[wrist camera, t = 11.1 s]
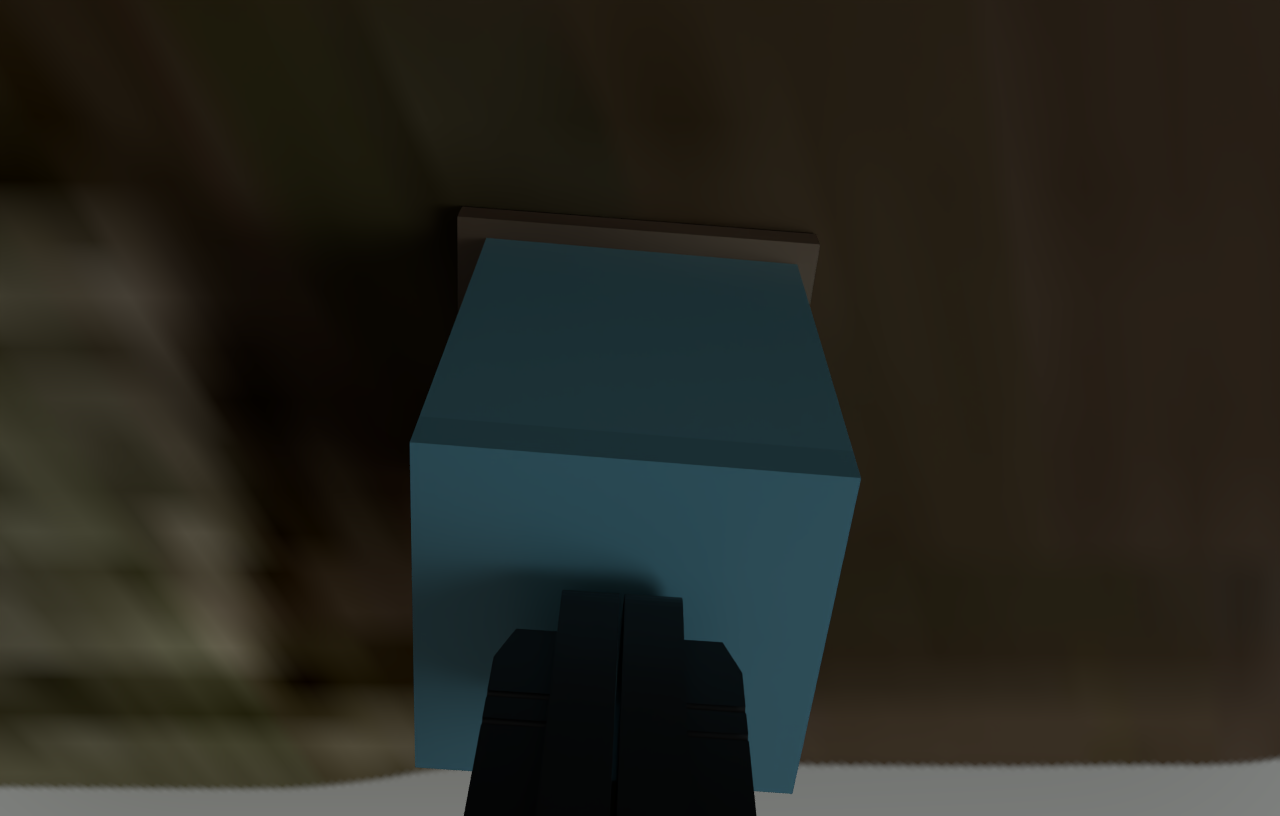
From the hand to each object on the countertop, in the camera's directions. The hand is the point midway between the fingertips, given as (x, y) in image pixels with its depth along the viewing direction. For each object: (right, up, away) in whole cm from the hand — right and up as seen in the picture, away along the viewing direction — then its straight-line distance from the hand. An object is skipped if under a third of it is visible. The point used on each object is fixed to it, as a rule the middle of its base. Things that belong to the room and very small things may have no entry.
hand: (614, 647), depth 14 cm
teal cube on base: (0, +3, +6) cm, 7 cm away
